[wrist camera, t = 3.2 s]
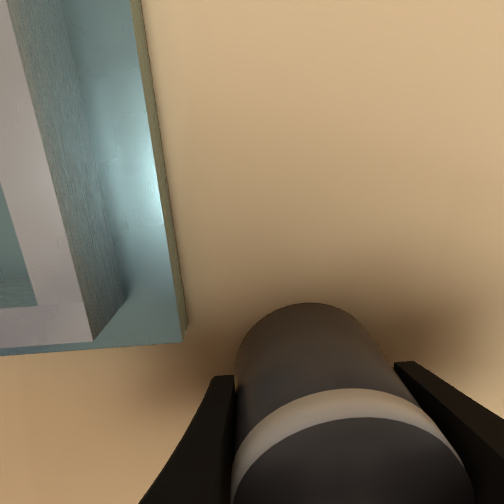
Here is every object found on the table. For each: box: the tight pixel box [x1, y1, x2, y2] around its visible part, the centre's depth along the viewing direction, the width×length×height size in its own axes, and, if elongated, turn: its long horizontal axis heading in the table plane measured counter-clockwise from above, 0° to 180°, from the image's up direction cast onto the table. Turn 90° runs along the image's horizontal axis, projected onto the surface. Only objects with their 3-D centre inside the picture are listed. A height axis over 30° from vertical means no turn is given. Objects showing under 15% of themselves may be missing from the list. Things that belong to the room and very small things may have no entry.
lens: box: [230, 303, 474, 504], centre depth 9 cm, size 5×5×5 cm
